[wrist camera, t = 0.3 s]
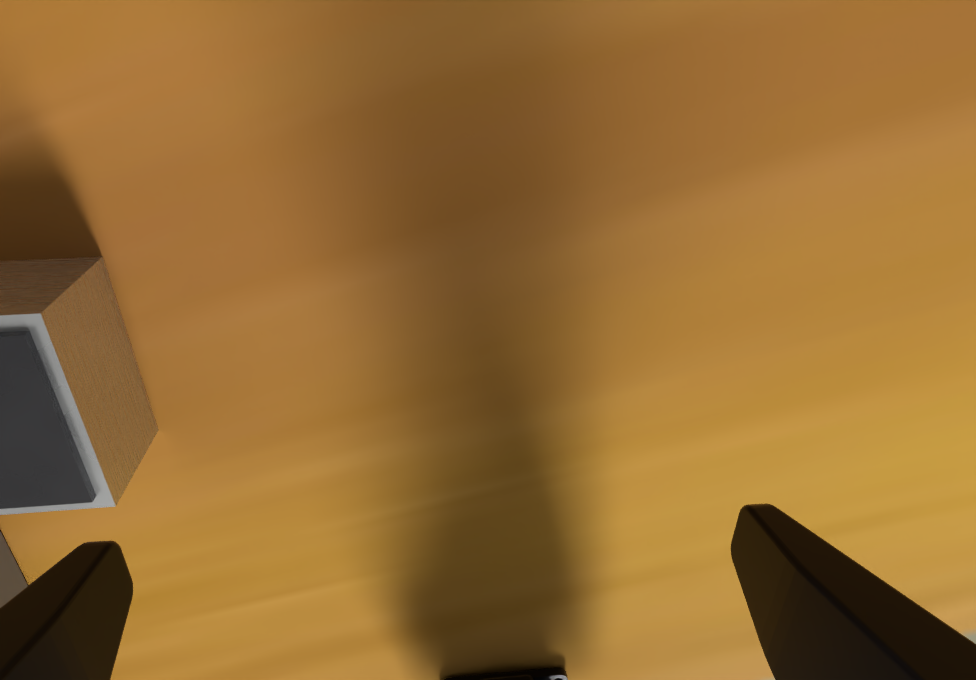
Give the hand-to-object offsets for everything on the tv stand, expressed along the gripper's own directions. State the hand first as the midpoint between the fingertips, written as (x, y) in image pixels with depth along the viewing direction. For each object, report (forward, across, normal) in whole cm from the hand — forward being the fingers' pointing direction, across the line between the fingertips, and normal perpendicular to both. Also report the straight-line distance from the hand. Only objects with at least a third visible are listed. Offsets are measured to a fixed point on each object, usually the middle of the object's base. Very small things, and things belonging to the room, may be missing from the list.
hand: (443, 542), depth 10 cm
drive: (+14, +13, +4) cm, 20 cm away
